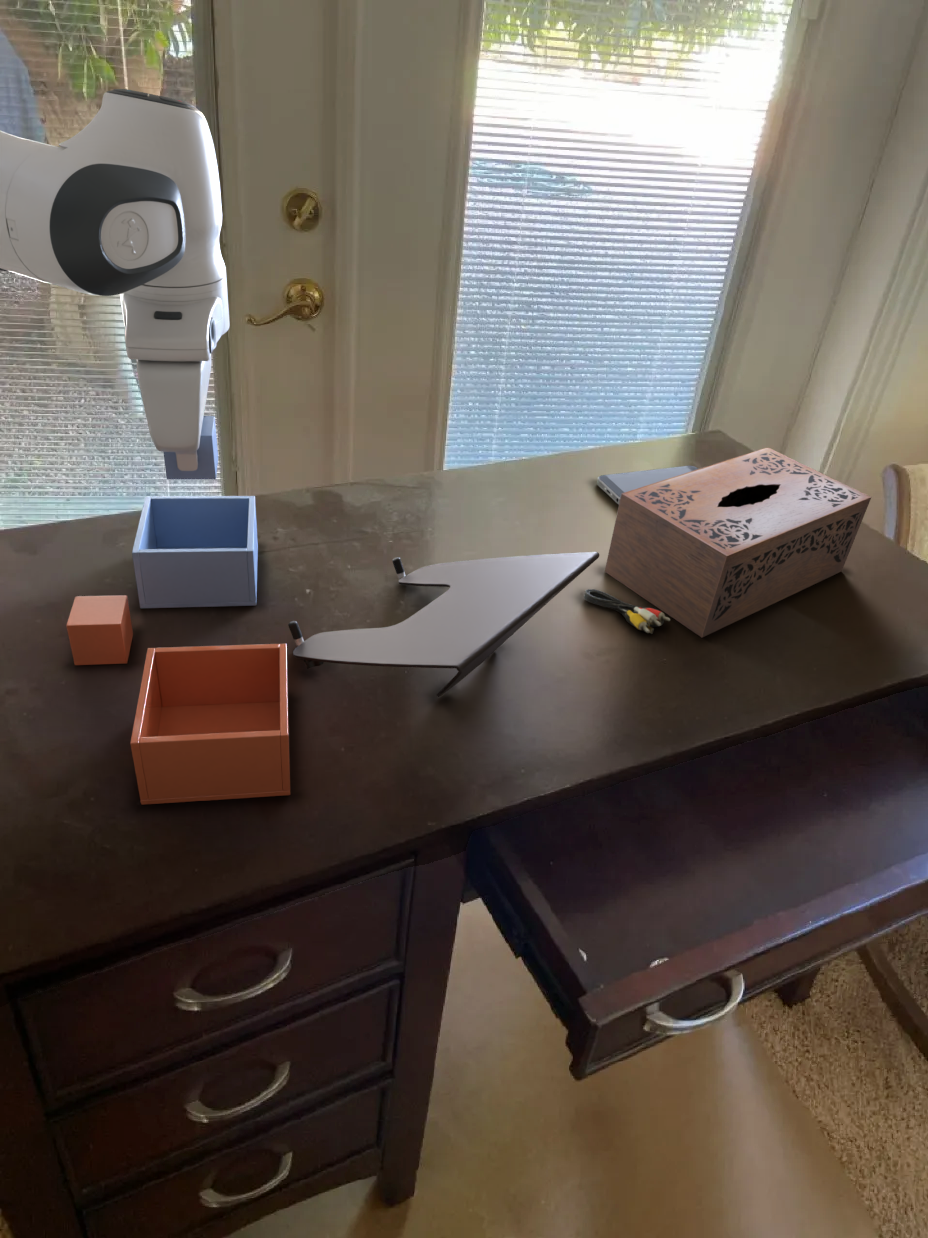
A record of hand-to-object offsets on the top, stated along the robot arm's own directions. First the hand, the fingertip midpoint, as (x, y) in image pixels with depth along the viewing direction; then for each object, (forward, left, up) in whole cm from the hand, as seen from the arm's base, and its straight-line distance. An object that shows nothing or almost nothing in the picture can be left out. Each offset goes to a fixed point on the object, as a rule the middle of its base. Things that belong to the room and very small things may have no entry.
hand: (190, 453), depth 85 cm
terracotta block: (-8, -12, -14) cm, 20 cm away
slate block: (0, 0, -2) cm, 2 cm away
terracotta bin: (+3, -26, -14) cm, 30 cm away
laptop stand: (+22, -14, -14) cm, 30 cm away
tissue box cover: (+59, -1, -14) cm, 61 cm away
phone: (+58, +19, -14) cm, 63 cm away
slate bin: (0, 0, -14) cm, 14 cm away
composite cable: (+44, -9, -14) cm, 47 cm away
